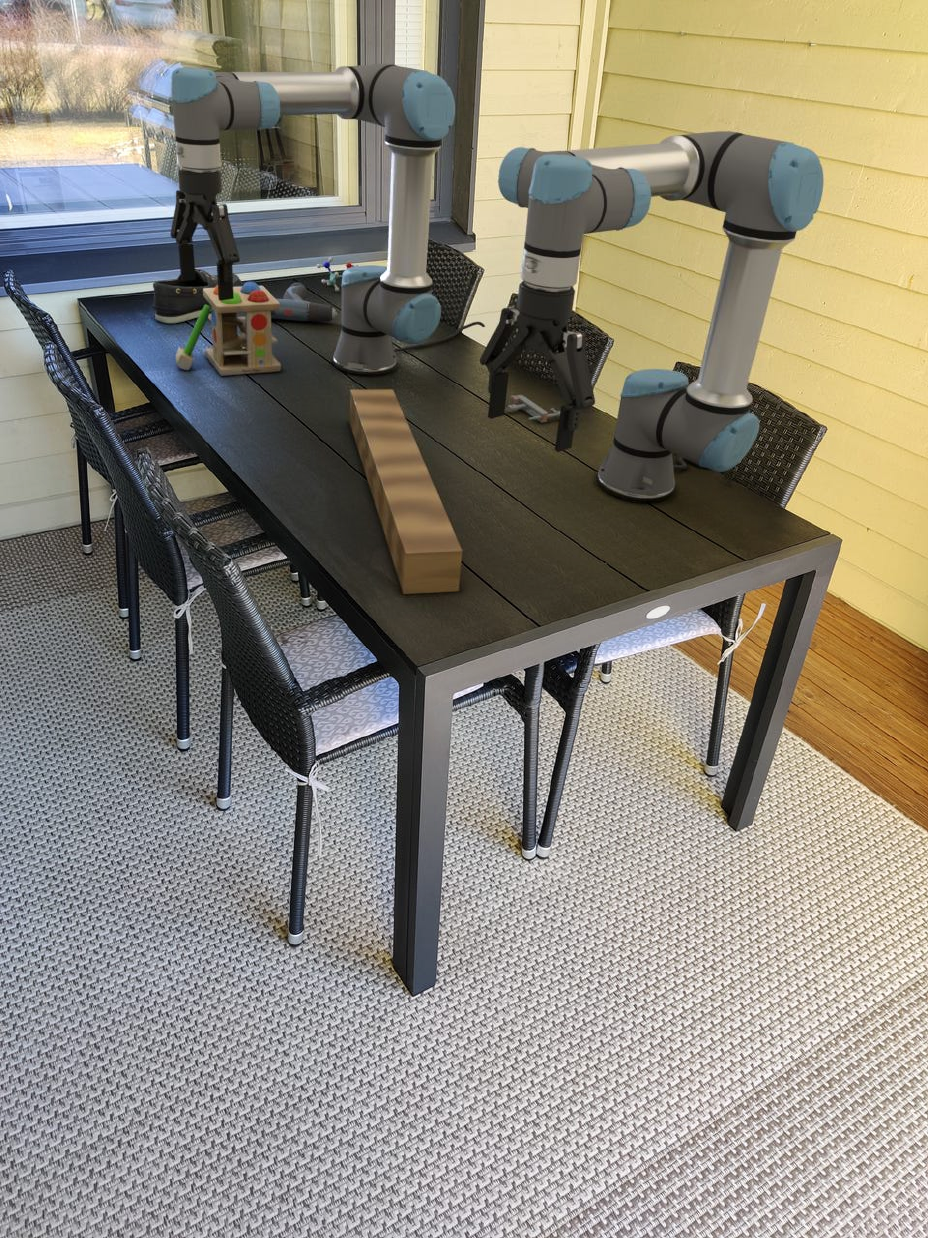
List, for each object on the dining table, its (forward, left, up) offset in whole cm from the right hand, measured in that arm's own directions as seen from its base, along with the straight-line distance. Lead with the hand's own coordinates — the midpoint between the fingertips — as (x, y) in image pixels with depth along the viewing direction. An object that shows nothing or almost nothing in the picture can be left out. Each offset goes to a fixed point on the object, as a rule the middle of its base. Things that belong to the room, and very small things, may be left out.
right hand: (528, 432), depth 142 cm
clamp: (-57, -49, -28) cm, 80 cm away
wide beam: (-7, -36, -28) cm, 46 cm away
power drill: (-54, -133, -28) cm, 146 cm away
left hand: (+5, -80, 0) cm, 81 cm away
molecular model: (-76, -149, -28) cm, 169 cm away
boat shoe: (-32, -150, -28) cm, 156 cm away
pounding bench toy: (-15, -110, -28) cm, 114 cm away
